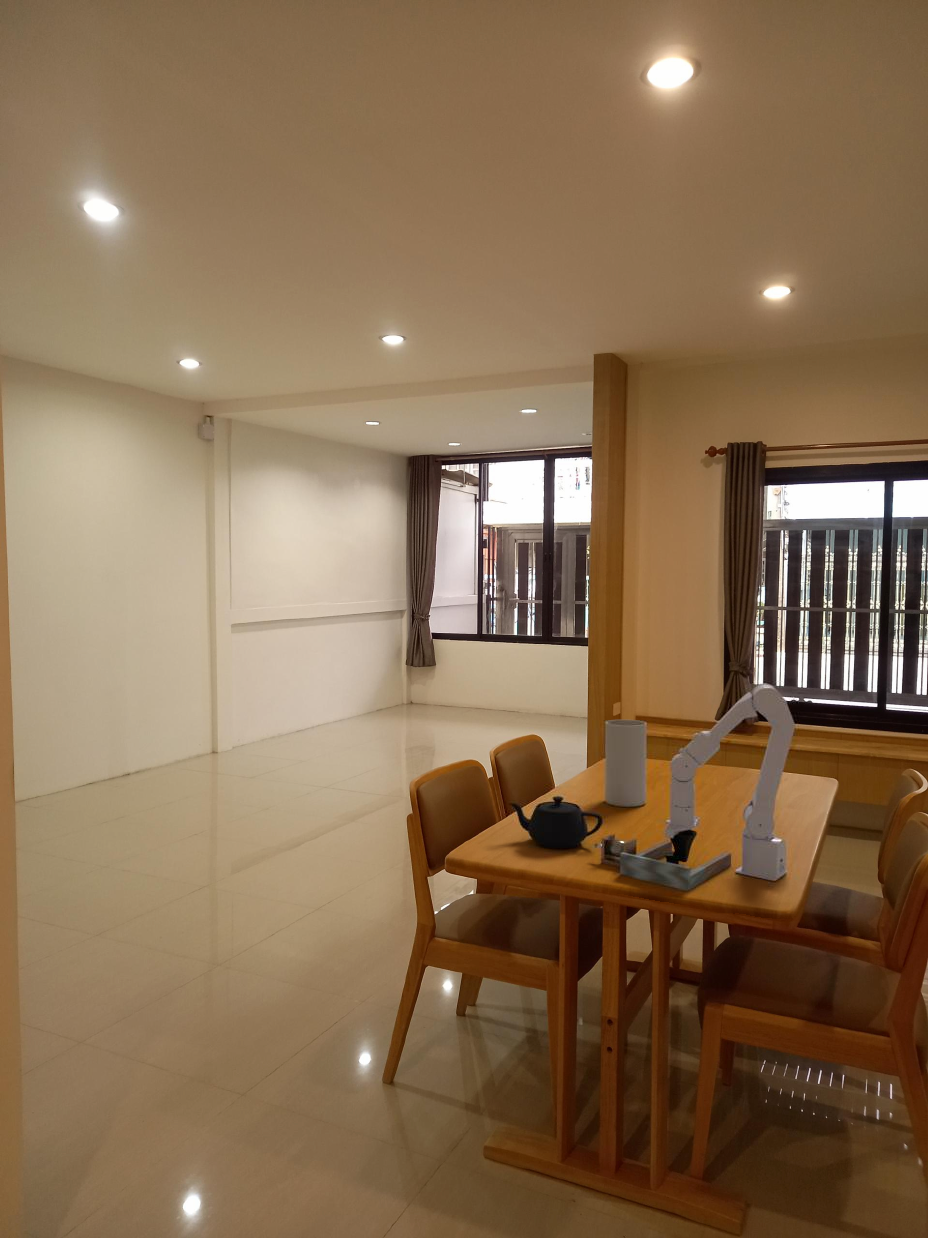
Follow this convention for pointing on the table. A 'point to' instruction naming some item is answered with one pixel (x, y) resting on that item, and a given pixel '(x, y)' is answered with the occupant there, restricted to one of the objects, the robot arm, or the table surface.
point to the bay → (669, 867)
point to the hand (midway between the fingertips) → (682, 861)
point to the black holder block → (672, 857)
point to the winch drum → (615, 849)
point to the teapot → (557, 823)
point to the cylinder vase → (625, 763)
